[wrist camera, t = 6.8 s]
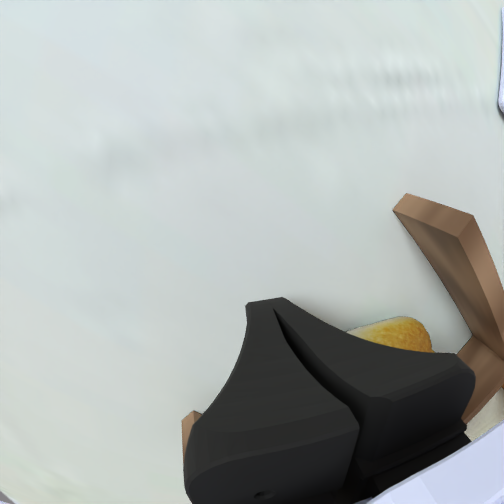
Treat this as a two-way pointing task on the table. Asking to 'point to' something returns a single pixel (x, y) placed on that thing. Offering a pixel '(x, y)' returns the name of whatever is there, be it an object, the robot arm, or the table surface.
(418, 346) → the bread roll
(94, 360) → the table surface
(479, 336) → the box
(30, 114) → the table surface
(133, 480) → the table surface
